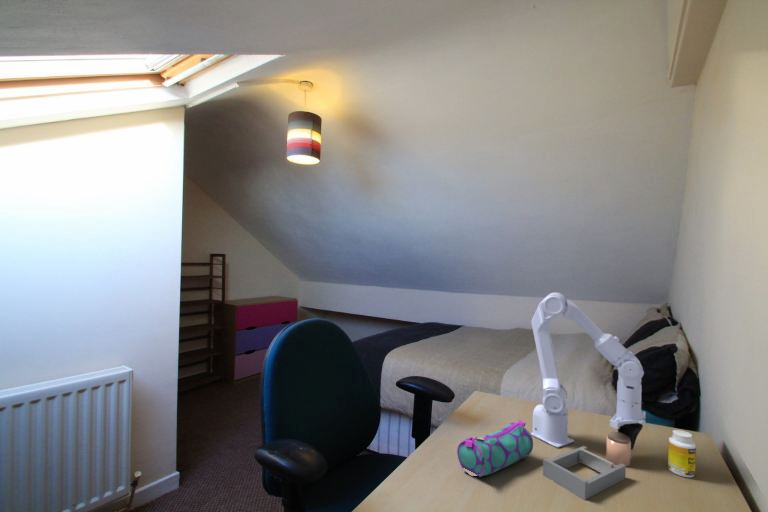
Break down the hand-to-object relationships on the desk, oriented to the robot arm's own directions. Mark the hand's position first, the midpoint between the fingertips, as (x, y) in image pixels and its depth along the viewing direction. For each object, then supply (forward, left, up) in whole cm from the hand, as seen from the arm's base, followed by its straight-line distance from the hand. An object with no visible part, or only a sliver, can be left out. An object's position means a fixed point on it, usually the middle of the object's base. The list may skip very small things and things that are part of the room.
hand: (627, 448), depth 106 cm
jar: (0, -5, -2) cm, 5 cm away
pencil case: (-14, -36, -3) cm, 39 cm away
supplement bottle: (+11, +4, -2) cm, 12 cm away
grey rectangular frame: (0, -20, -2) cm, 20 cm away
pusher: (0, -15, -2) cm, 15 cm away
